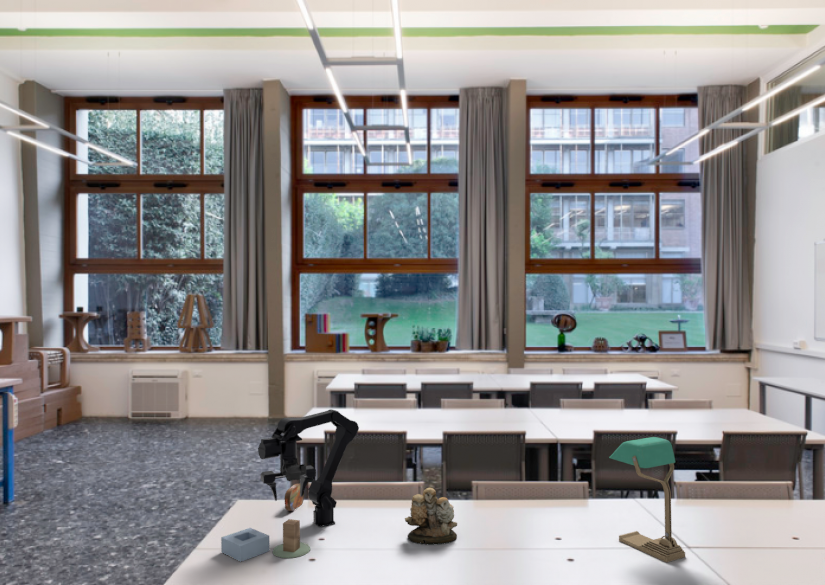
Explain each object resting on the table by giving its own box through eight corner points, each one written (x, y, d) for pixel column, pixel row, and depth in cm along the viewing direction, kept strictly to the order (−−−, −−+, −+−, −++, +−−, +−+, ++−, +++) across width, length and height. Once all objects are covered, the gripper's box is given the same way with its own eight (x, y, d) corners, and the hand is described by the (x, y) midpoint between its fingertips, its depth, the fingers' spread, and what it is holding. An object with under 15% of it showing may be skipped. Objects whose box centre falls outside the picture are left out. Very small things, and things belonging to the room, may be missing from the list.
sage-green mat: (304, 540, 210) (304, 539, 210) (314, 553, 199) (314, 552, 199) (269, 547, 205) (269, 546, 205) (278, 561, 194) (278, 559, 194)
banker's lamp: (658, 565, 188) (656, 450, 188) (607, 541, 207) (606, 437, 207) (693, 554, 195) (691, 444, 196) (641, 532, 214) (639, 432, 214)
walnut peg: (289, 546, 204) (288, 519, 204) (299, 547, 203) (299, 520, 203) (283, 551, 201) (282, 523, 201) (294, 552, 199) (293, 524, 199)
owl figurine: (406, 546, 204) (405, 495, 205) (403, 533, 216) (402, 484, 217) (459, 543, 206) (458, 492, 206) (454, 530, 218) (453, 482, 218)
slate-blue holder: (250, 542, 209) (250, 527, 209) (269, 550, 202) (269, 535, 202) (221, 552, 201) (221, 537, 201) (240, 561, 194) (240, 546, 194)
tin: (290, 514, 236) (290, 492, 236) (283, 513, 237) (282, 491, 237) (305, 501, 251) (305, 480, 251) (298, 501, 252) (297, 480, 252)
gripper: (267, 463, 206) (267, 509, 206) (320, 456, 215) (321, 501, 214) (260, 455, 216) (260, 500, 216) (311, 449, 225) (311, 492, 224)
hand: (288, 498), depth 218 cm, fingers open, 9 cm apart
